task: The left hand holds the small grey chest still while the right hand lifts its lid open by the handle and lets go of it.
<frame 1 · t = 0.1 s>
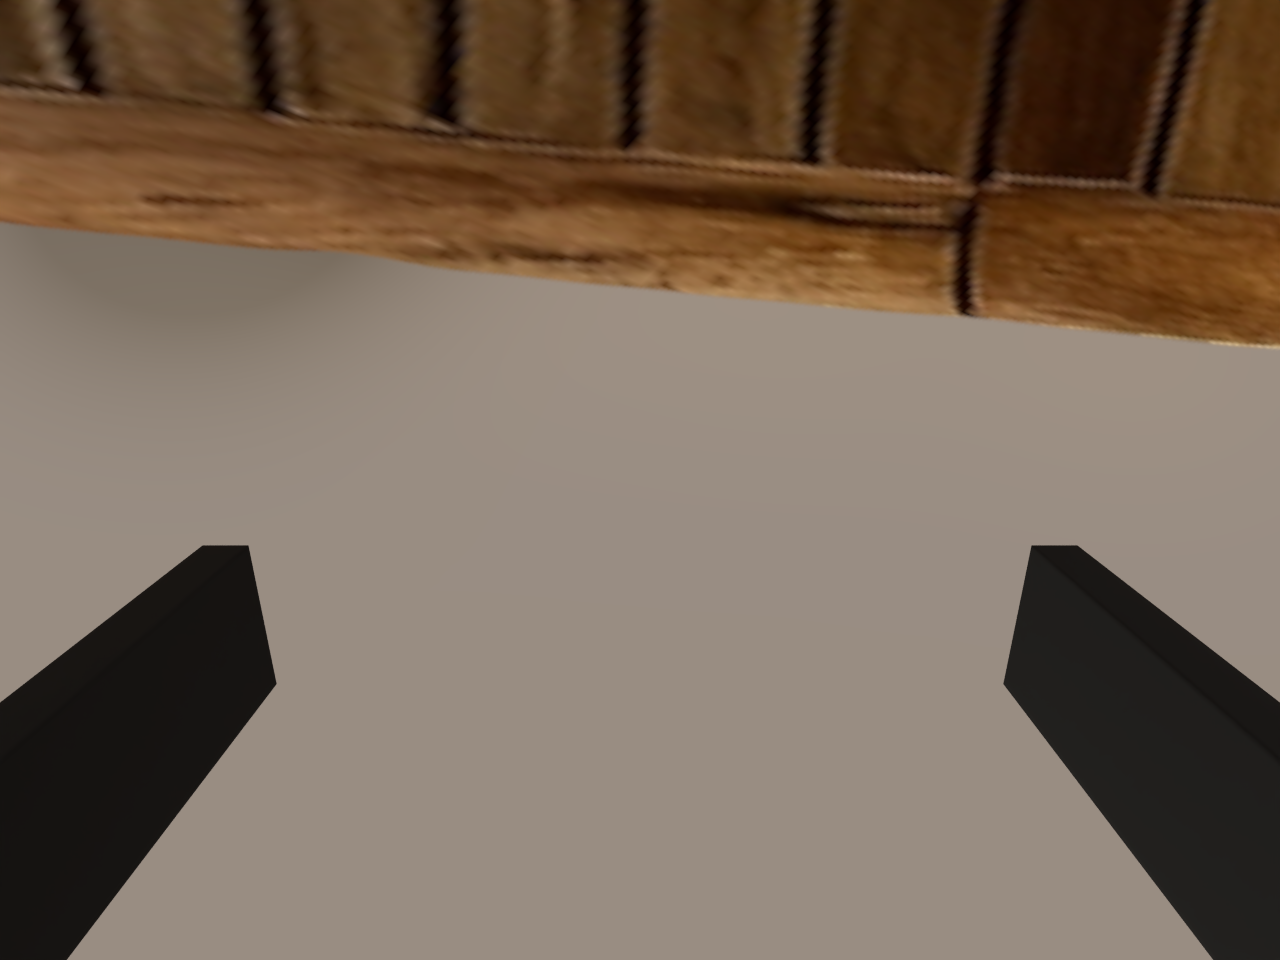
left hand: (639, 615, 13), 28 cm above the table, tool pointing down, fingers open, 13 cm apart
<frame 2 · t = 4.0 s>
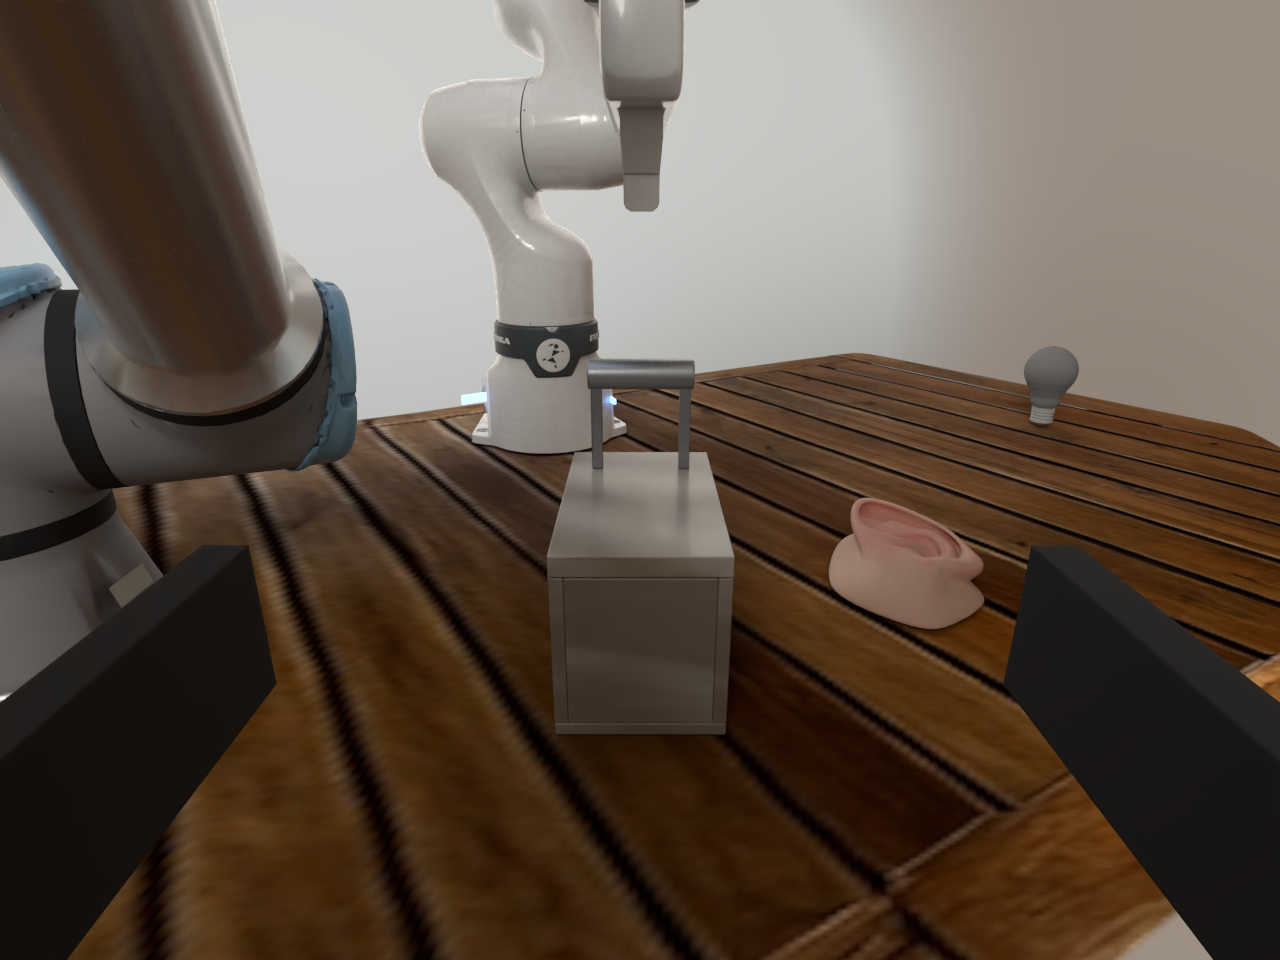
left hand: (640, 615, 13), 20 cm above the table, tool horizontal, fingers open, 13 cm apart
lid: (640, 447, 43), point 14 cm above the table, hinge at 0.0°
light bulb: (1040, 425, 95), on the table
anatomical model: (901, 582, 56), on the table
chest: (640, 653, 47), on the table
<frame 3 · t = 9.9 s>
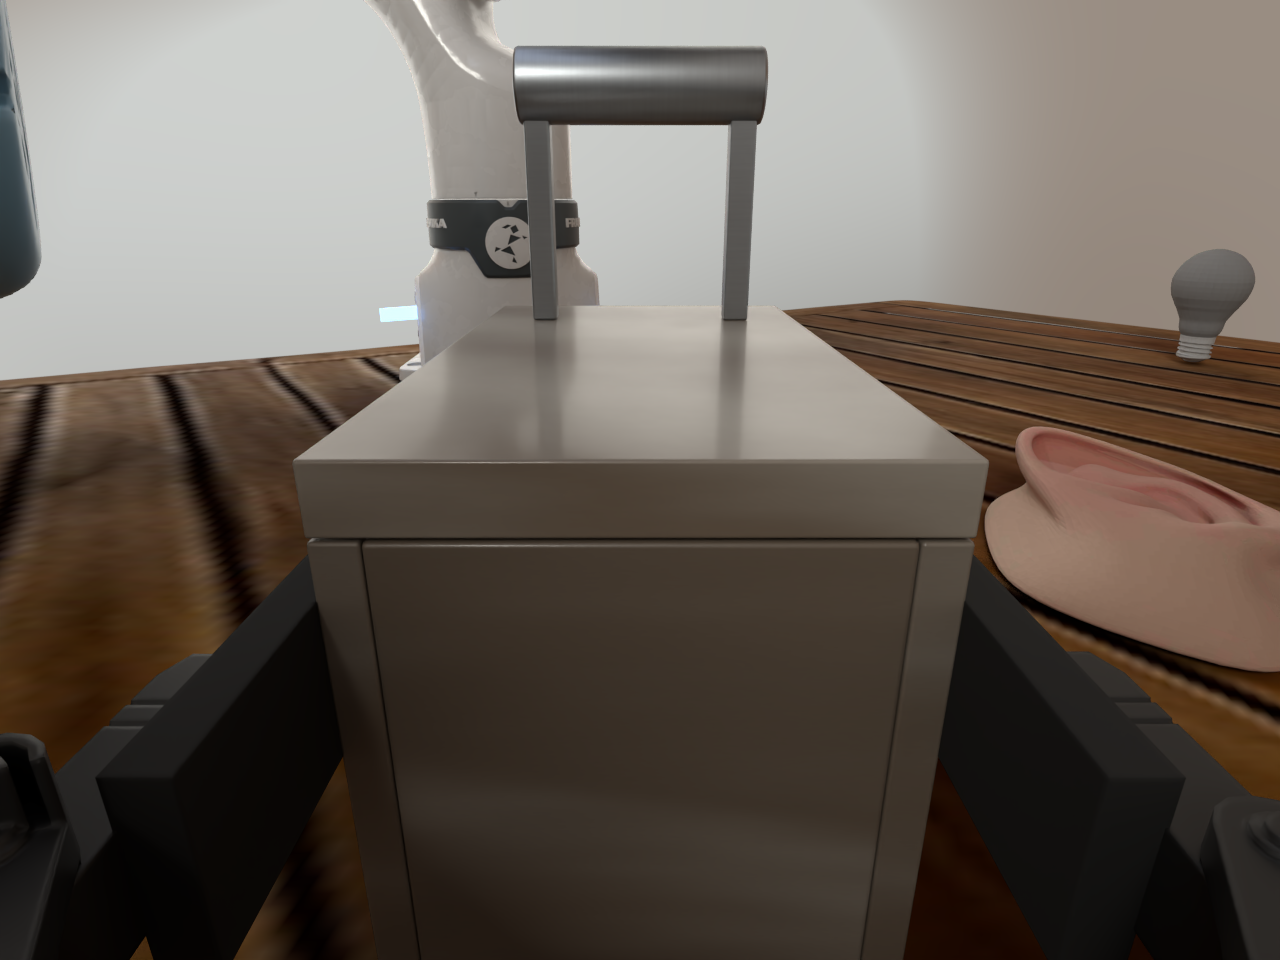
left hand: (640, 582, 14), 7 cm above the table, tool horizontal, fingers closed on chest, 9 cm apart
lid: (640, 213, 16), point 14 cm above the table, hinge at 0.0°
light bulb: (1191, 363, 69), on the table
anatomical model: (1134, 574, 29), on the table
chest: (640, 732, 21), on the table, touching left hand
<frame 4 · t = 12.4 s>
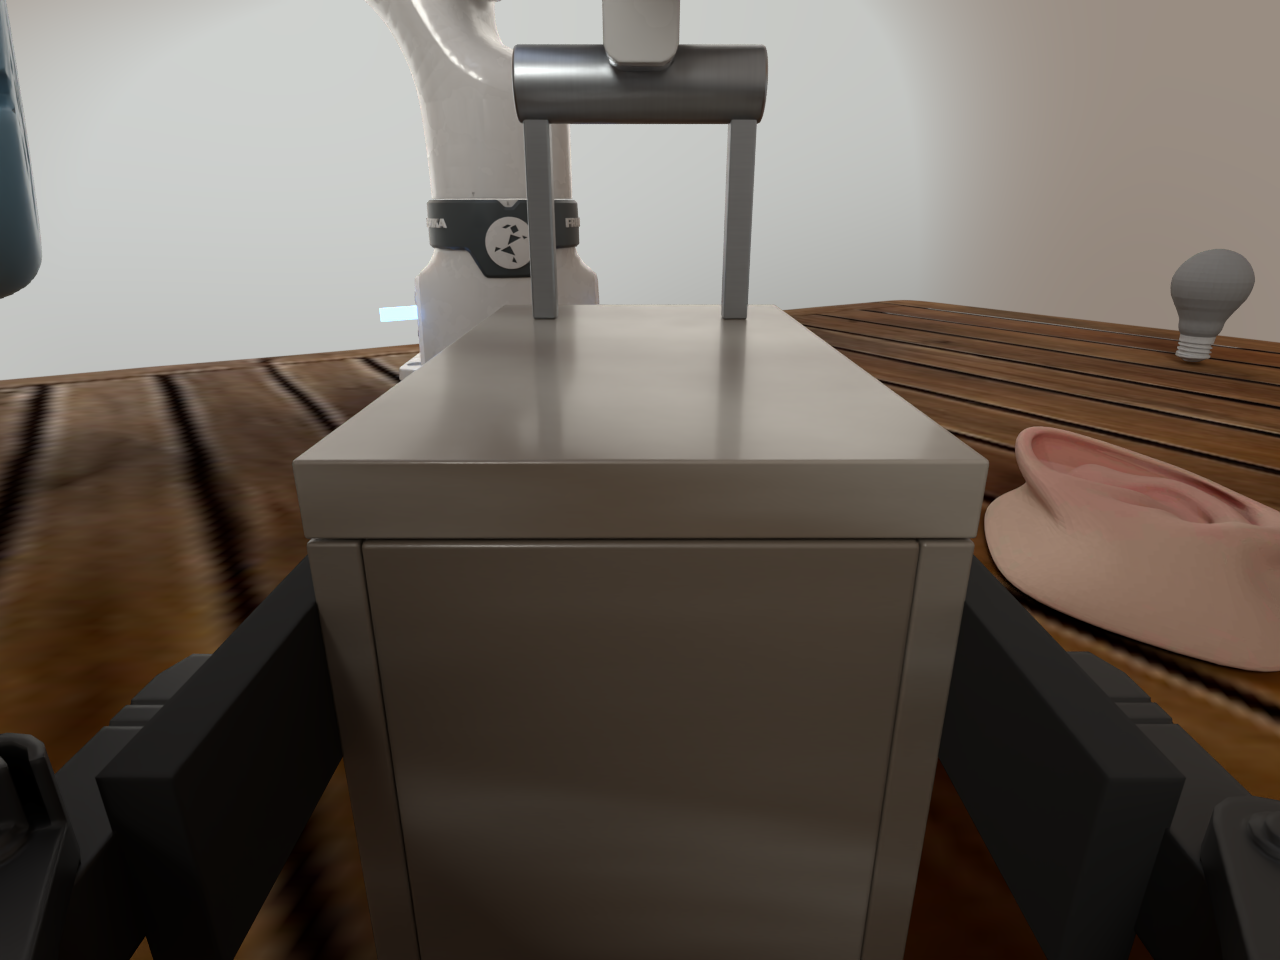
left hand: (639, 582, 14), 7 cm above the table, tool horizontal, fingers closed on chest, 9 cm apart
lid: (640, 212, 16), point 14 cm above the table, hinge at 0.1°, touching right hand
light bulb: (1190, 363, 69), on the table
anatomical model: (1133, 573, 30), on the table
chest: (640, 732, 21), on the table, touching left hand
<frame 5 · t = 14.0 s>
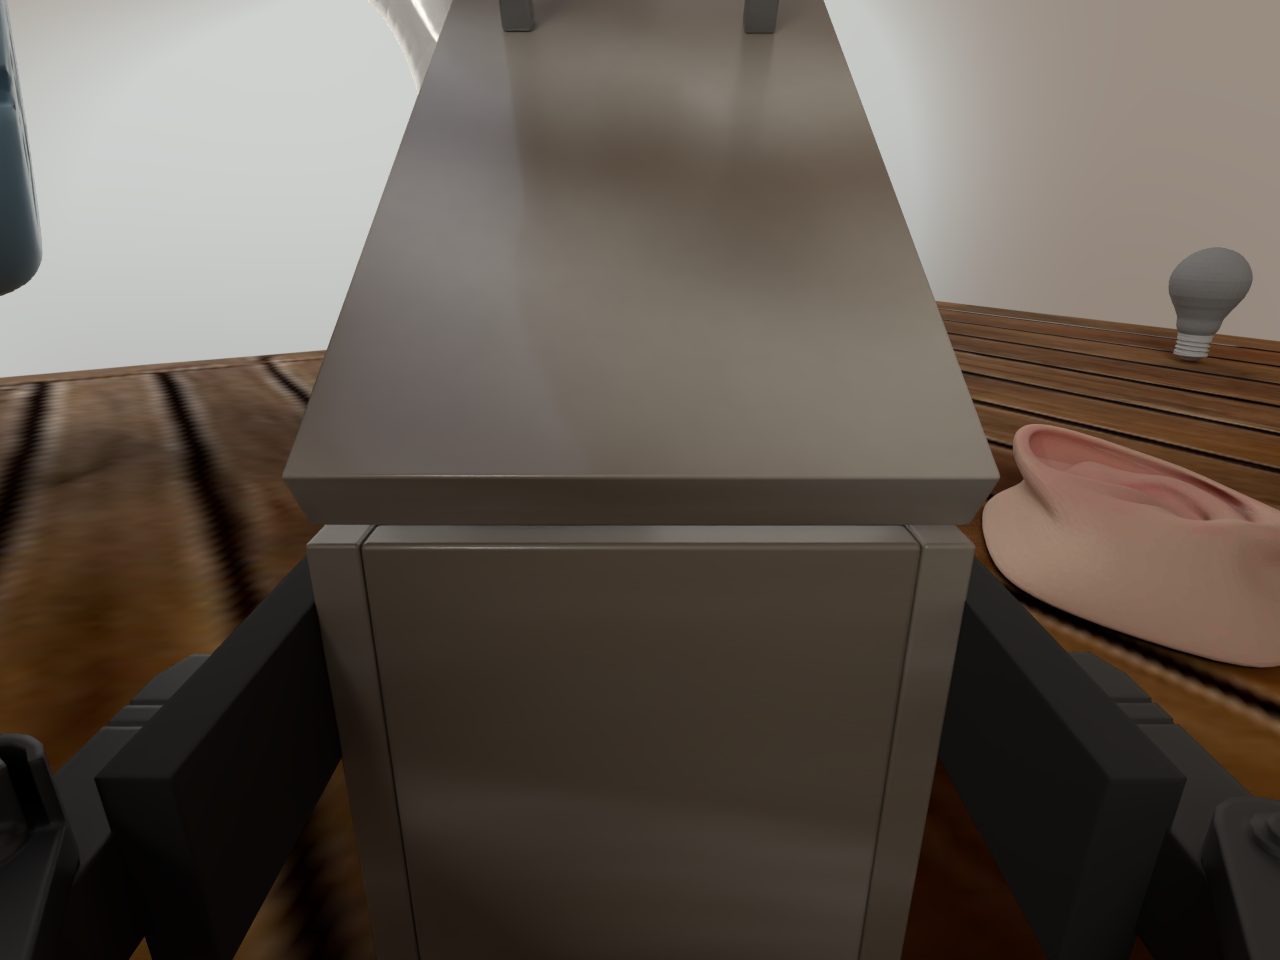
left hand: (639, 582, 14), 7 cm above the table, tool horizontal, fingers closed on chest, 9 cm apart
light bulb: (1188, 361, 69), on the table
anatomical model: (1130, 570, 30), on the table
chest: (637, 730, 21), on the table, touching left hand
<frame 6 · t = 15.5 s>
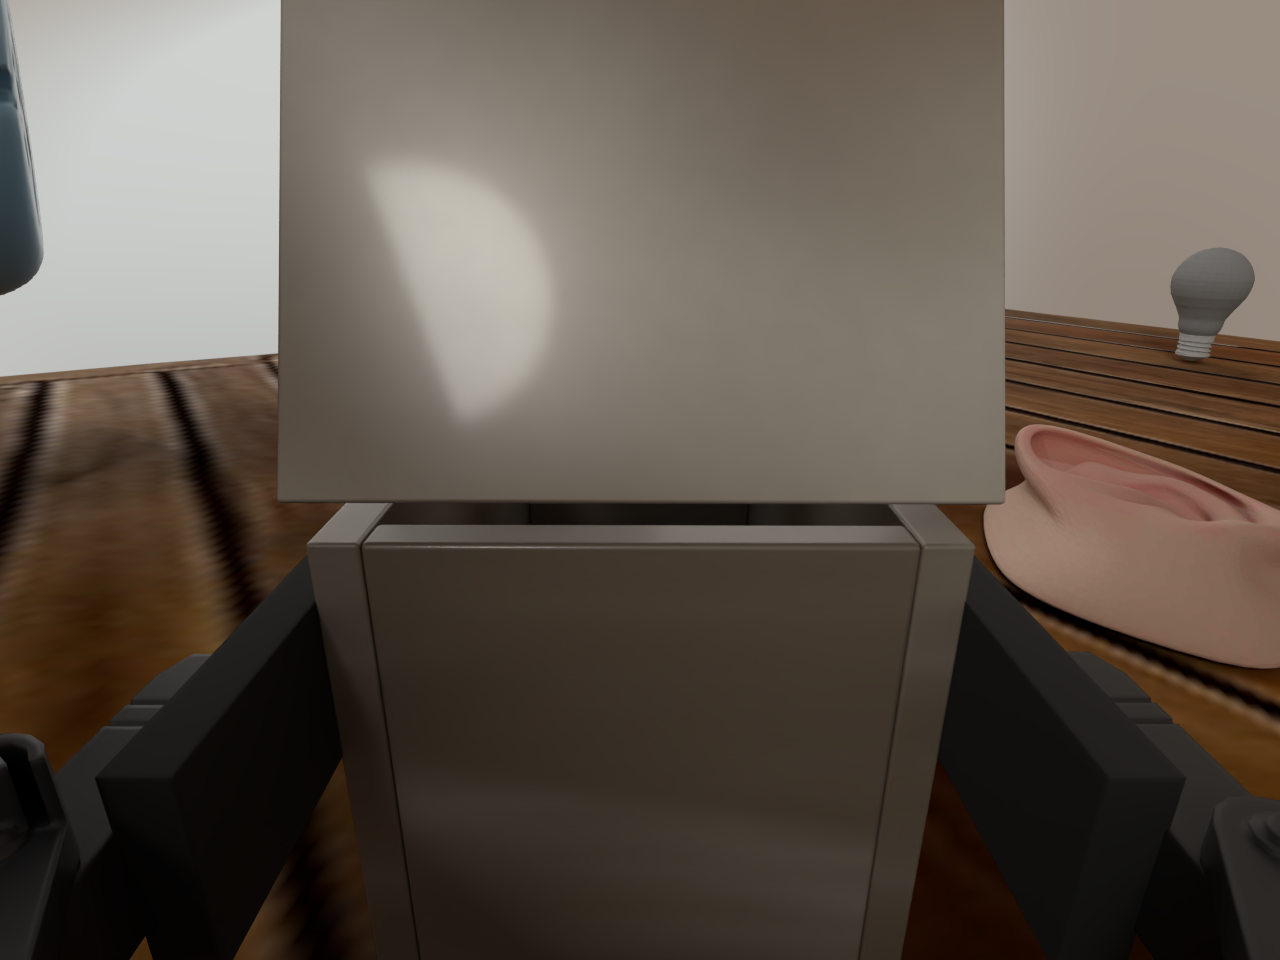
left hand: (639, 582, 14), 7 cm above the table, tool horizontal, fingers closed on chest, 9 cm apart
light bulb: (1190, 361, 69), on the table
anatomical model: (1132, 571, 30), on the table
chest: (638, 730, 21), on the table, touching left hand
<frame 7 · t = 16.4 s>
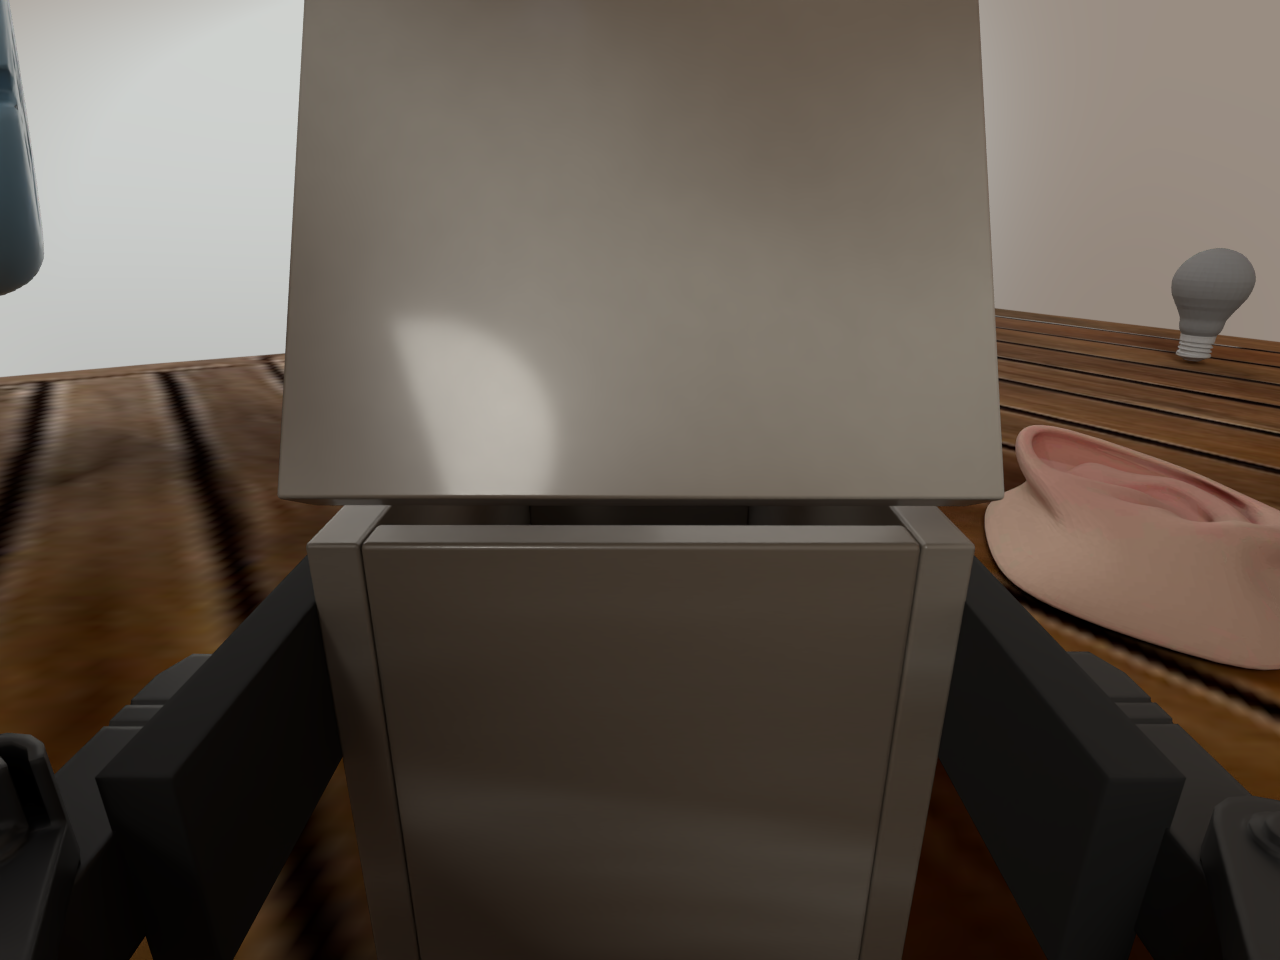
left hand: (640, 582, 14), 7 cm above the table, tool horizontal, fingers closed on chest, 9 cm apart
light bulb: (1191, 362, 69), on the table
anatomical model: (1133, 572, 30), on the table
chest: (639, 730, 21), on the table, touching left hand
when the left hand's fingers open (7 cm above the table, at t = 20.6 s): chest stays where it is, on the table.
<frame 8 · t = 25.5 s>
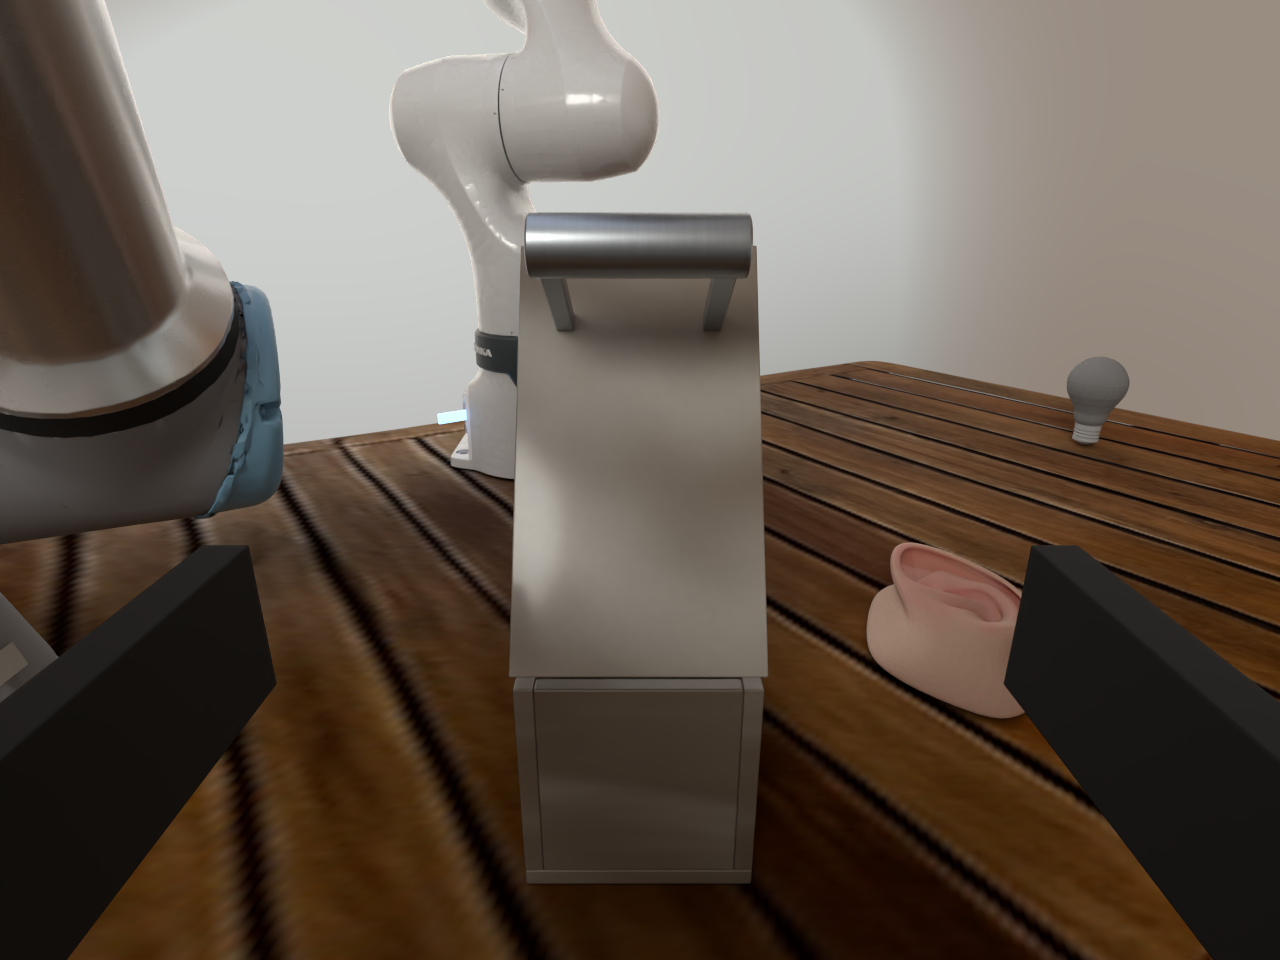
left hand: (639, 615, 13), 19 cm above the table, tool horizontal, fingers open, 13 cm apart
lid: (638, 432, 24), point 19 cm above the table, hinge at 60.5°
light bulb: (1084, 444, 86), on the table
anatomical model: (955, 649, 46), on the table
chest: (638, 753, 37), on the table
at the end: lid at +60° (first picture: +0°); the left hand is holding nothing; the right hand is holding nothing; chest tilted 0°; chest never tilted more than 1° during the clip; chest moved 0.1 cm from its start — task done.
